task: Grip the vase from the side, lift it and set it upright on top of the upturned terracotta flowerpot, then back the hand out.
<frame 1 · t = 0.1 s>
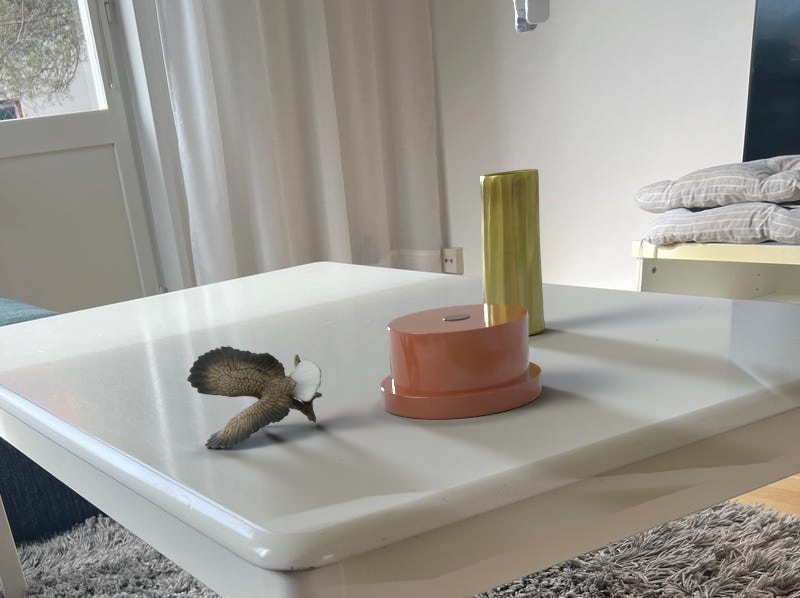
hand: (531, 28, 85), 25 cm above the table, tool pointing down, fingers open, 8 cm apart
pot: (460, 396, 76), on the table
eagle figurine: (264, 434, 74), on the table
vase: (513, 334, 96), on the table
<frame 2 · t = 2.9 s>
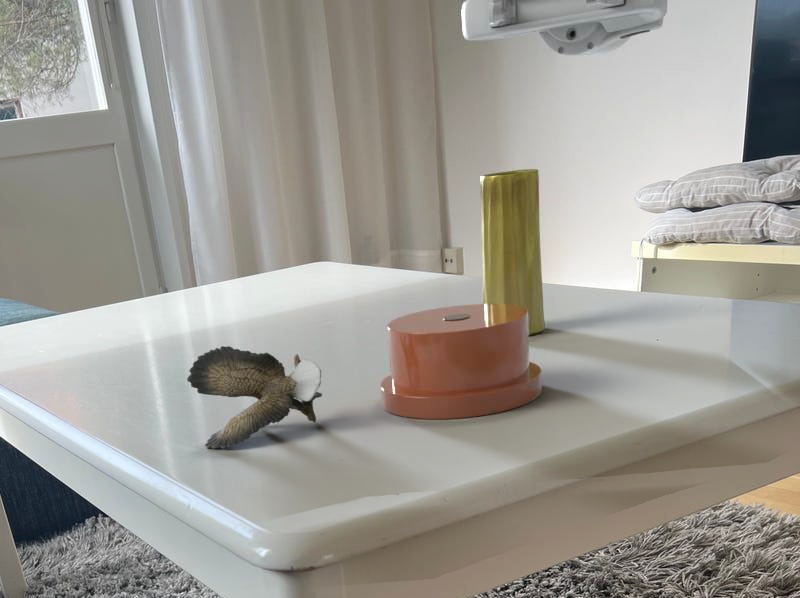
hand: (543, 1, 92), 28 cm above the table, tool horizontal, fingers open, 8 cm apart
nothing on the table moved.
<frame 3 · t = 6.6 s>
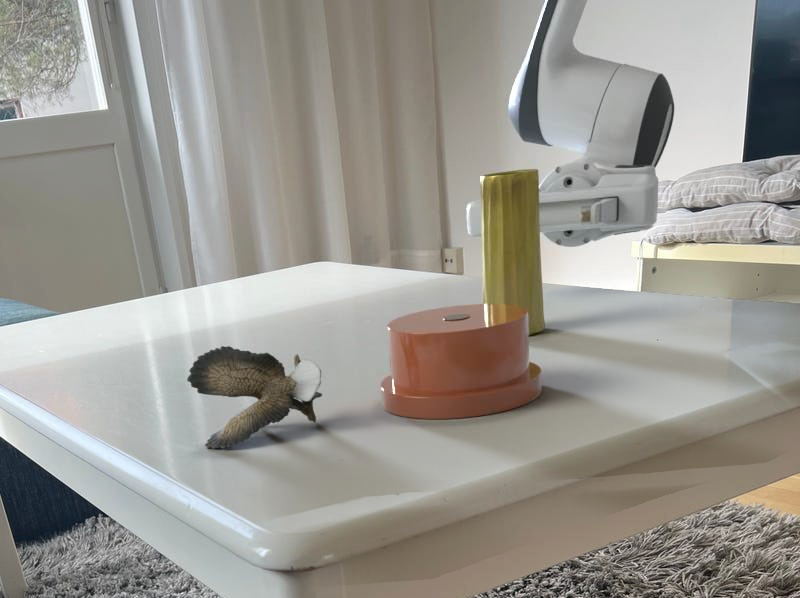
hand: (541, 219, 100), 9 cm above the table, tool horizontal, fingers open, 8 cm apart
nothing on the table moved.
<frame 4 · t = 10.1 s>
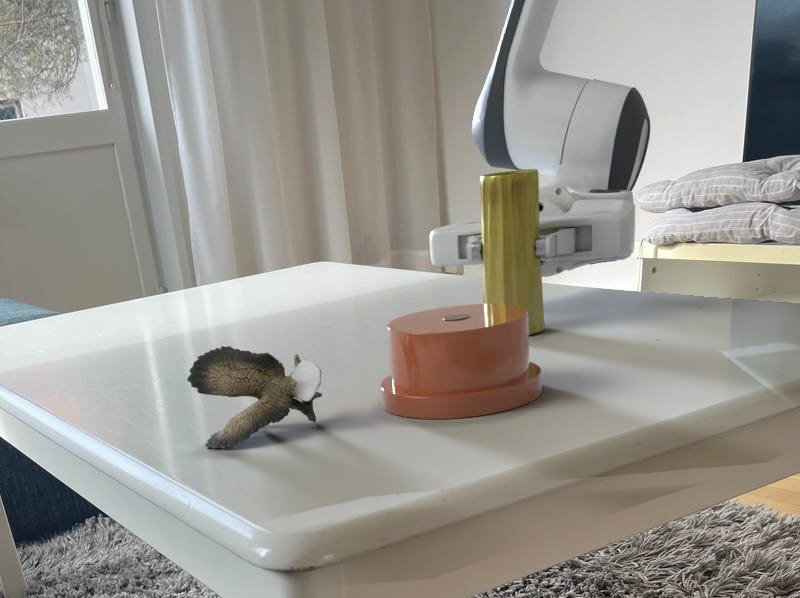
hand: (508, 250, 92), 8 cm above the table, tool horizontal, fingers closed on vase, 5 cm apart
vase: (513, 334, 96), on the table, touching gripper
everything else where it was.
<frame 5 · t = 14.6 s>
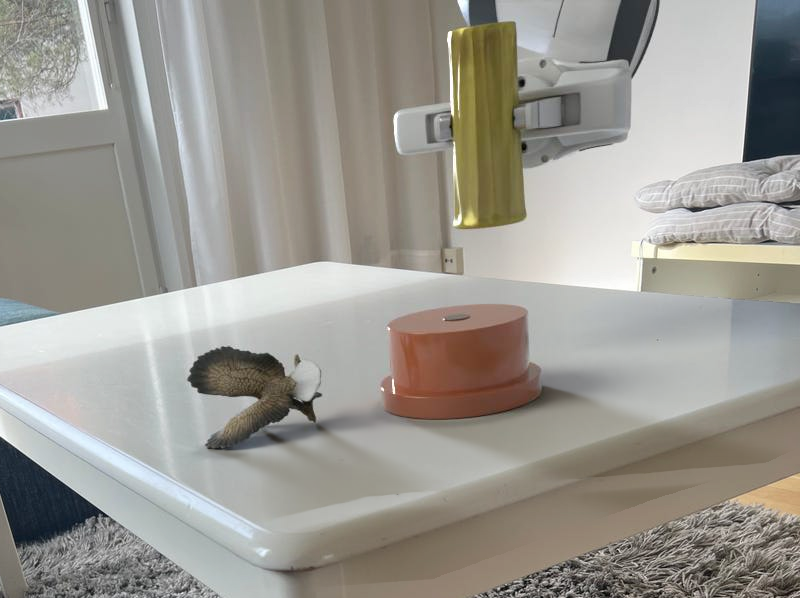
hand: (482, 122, 78), 19 cm above the table, tool horizontal, fingers closed on vase, 5 cm apart
vase: (489, 226, 82), point 11 cm above the table, touching gripper
everything else where it was.
when the fingers open (14 cm above the table, at t = 19.2 s): vase stays where it is, resting on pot.
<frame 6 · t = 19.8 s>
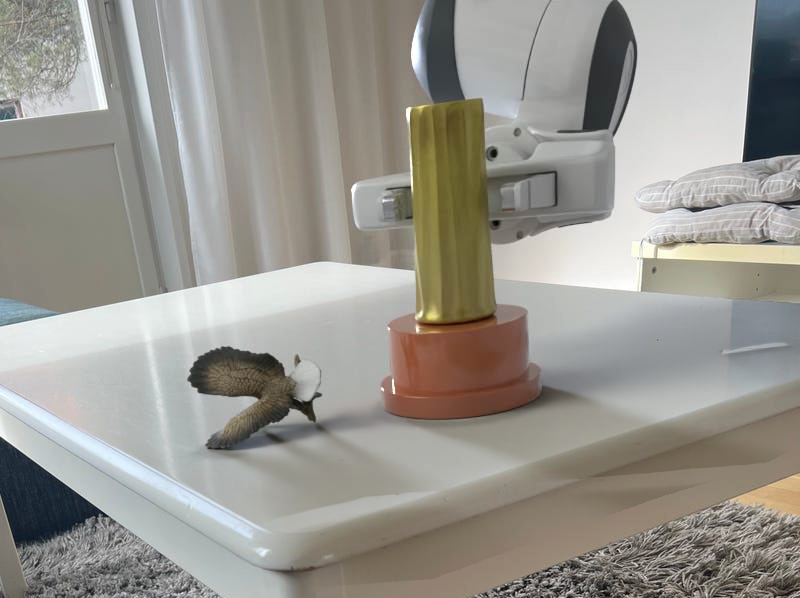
hand: (446, 204, 69), 14 cm above the table, tool horizontal, fingers open, 8 cm apart
vase: (455, 319, 74), point 6 cm above the table, touching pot
everything else where it was.
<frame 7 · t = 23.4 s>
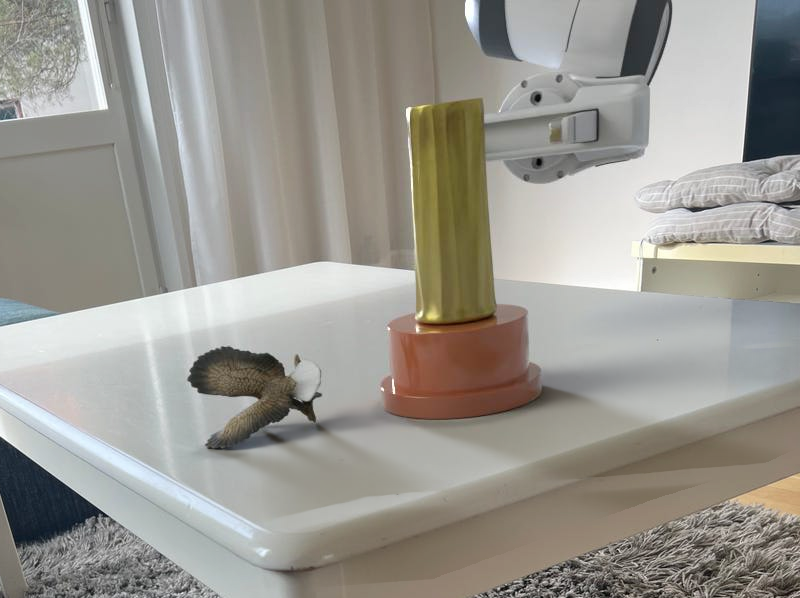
hand: (499, 138, 77), 17 cm above the table, tool horizontal, fingers open, 8 cm apart
nothing on the table moved.
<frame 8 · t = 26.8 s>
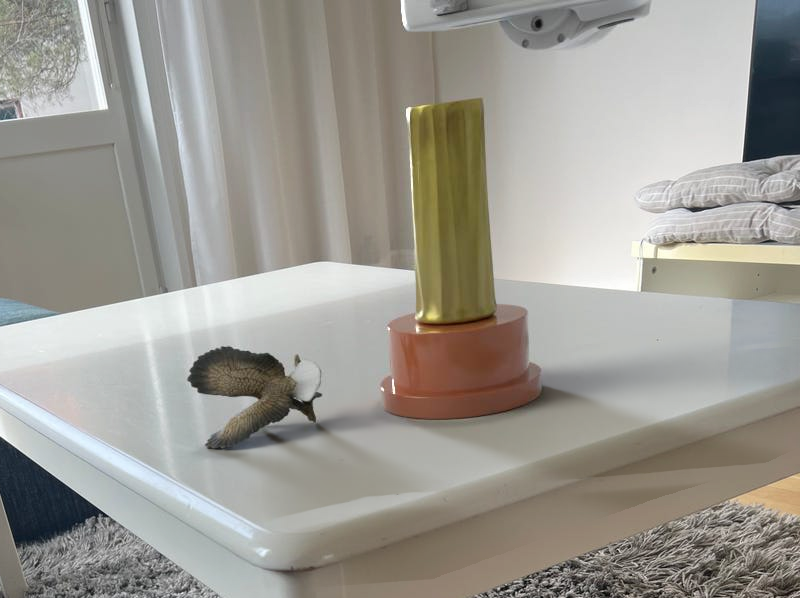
nothing on the table moved.
at the end: vase inside the target area on the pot (0.1 cm from its centre), point 5.9 cm above the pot's base; vase tilted 0°; the gripper is holding nothing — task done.
